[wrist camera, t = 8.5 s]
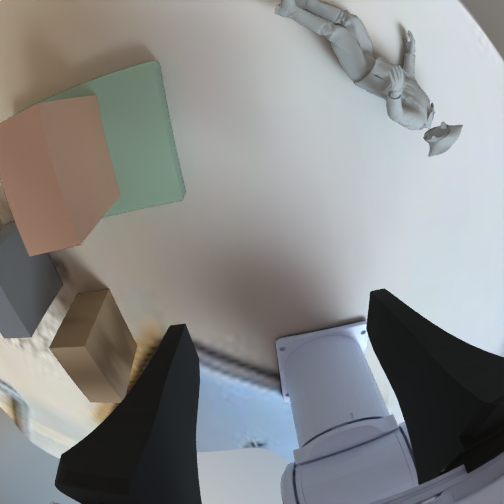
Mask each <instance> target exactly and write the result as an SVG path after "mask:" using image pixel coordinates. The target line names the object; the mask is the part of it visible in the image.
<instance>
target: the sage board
mask: <svg viewBox="0 0 504 504" xmlns="http://www.w3.org/2000/svg"><path fill="white" fill-rule="evenodd" d="M92 95H96V96H97V101H98V106H99V111H100V115H101V120H102V124H103V129H104V133H105V137H106V142H107V146H108V150H109V154H110V158H111V162H112V165H113V169H114V173H115V176H116V180H117V184H118V187H119V191H120V194H121V196H120V197H119V198H118V199H117V200H116V202H115V203H114V204H113V205H112V206H111V207H110V209H109V210H108V211H107V212H106V213H105V215H104V216H103V217H107V216H112V215H116V214H120V213H125V212H129V211H134V210H138V209H143V208H148V207H152V206H157V205H162V204H167V203H172V202H177V201H182V200H183V198H184V195H185V192H186V191H185V187H184V183H183V178H182V174H181V169H180V165H179V160H178V156H177V151H176V146H175V142H174V137H173V132H172V127H171V122H170V117H169V112H168V107H167V102H166V97H165V92H164V86H163V81H162V75H161V70H160V64H159V62H156V61H154V60H153V61H149V62H146V63H142V64H139V65H135V66H132V67H129V68H126V69H122V70H119V71H116V72H113V73H110V74H107V75H104V76H102V77H99V78H96V79H93V80H91V81H88V82H85V83H83V84H80V85H78V86H75V87H73V88H71V89H68V90H66V91H63V92H61V93H59V94H57V95H54V96H52V97H50V98H48V99H46V100H43V101H41V102H39V103H44V102H50V101H55V100H62V99H68V98H76V97H83V96H92ZM37 104H38V103H37ZM35 105H36V104H35ZM33 106H34V105H33ZM31 107H32V106H31ZM29 108H30V107H29ZM27 109H28V108H27ZM25 110H26V109H25ZM23 111H24V110H23ZM21 112H22V111H21ZM19 113H20V112H19ZM17 114H18V113H17ZM14 116H15V115H14ZM12 117H13V116H12ZM10 118H11V117H10ZM8 119H9V118H8ZM103 217H102V218H103Z"/></svg>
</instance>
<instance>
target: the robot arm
mask: <svg viewBox="0 0 504 504" xmlns="http://www.w3.org/2000/svg"><path fill="white" fill-rule="evenodd" d="M368 336H369V339H370V342H371V344H372V347H373V350H374V352H375V354H376V356H377V358H378V360H379V362H380V364H381V366H382V368H383V370H384V372H385V374H386V376H387V378H388V380H389V382H390V384H391V386H392V388H393V390H394V392H395V395H396V397H397V399H398V402H399V405H400V408H401V411H402V414H403V417H404V420H405V422H403V423H401V424H399V426H398V425H397V422H396V420H395V417H394V415H393V414H392V415H390V414H389V412H388V409H387V407H386V405H385V402H384V400H383V397H382V395H381V393H380V390H379V388H378V386H377V383H376V381H375V379H374V376H373V374H372V372H371V369H370V367H369V365H368V362H367V360H366V358H365V351H366V345H367V338H368ZM281 347H283V348H281ZM276 350H277V357H278V364H279V371H280V379H281V386H282V393H283V400H284V402H290V403H291V408H292V413H293V418H294V423H295V428H296V433H297V438H298V443H299V449H296V450H294V451H293V452H294V458H295V462H293V463H290V464H288V465H287V467H286V469H285V471H284V473H283V475H282V478H281V495H282V501H283V504H504V357H501V356H498V355H495V354H492V353H489V352H487V351H484V350H482V349H479V348H477V347H475V346H472V345H470V344H468V343H466V342H464V341H462V340H460V339H458V338H456V337H455V336H453V335H451V334H449V333H447V332H446V331H444V330H442V329H441V328H439V327H438V326H436V325H435V324H433V323H431V322H430V321H428V320H427V319H426V318H424V317H423V316H421V315H420V314H418V313H417V312H416V311H414V310H413V309H412V308H410V307H409V306H407V305H406V304H405V303H403V302H402V301H401V300H399V299H398V298H397V297H395V296H394V295H393V294H391V293H390V292H389V291H387V290H386V289H380V290H375V291H371V292H370V301H369V310H368V318H367V321H362V322H358V323H353V324H349V325H344V326H340V327H335V328H330V329H326V330H321V331H316V332H311V333H306V334H300V335H295V336H290V337H284V338H280V339H278V340H277V341H276ZM199 386H200V370H199V357H198V355H197V352H196V350H195V347H194V345H193V342H192V340H191V337H190V334H189V332H188V329H187V327H186V324H179V325H171V326H170V327H169V328H168V330H167V332H166V334H165V335H164V337H163V339H162V341H161V343H160V344H159V346H158V348H157V350H156V351H155V353H154V355H153V356H152V358H151V360H150V361H149V363H148V365H147V366H146V368H145V369H144V371H143V373H142V374H141V375H140V377H139V378H138V380H137V381H136V383H135V384H134V386H133V387H132V389H131V390H130V391H129V393H128V394H127V395H126V396H125V398H124V399H123V400H122V401H121V403H120V404H119V405H118V406H117V407H116V408H115V409H114V411H113V412H112V413H111V414H110V415H109V416H108V417H107V418H106V419H105V420H104V421H103V422H102V423H101V424H100V425H99V426H98V427H97V428H96V429H95V430H93V431H92V432H91V433H90V434H89V435H88V436H86V437H85V438H84V439H83V440H81V441H80V442H79V443H77V444H76V445H75V446H73V447H72V448H71V449H69V450H68V451H66V452H65V453H63V454H62V455H61V458H60V463H59V466H58V470H57V475H56V480H55V486H56V488H57V489H58V490H59V491H61V492H62V493H64V494H65V495H67V496H69V497H71V498H72V499H74V500H76V501H78V502H80V503H81V504H202V502H201V496H200V487H199V479H198V468H197V452H196V423H197V411H198V399H199ZM50 504H58V503H55V502H51V503H50Z"/></svg>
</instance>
